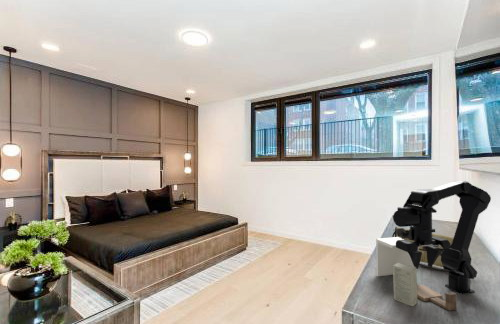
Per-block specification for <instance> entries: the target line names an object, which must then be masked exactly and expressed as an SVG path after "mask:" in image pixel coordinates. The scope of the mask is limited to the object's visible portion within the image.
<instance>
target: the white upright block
mask: <svg viewBox="0 0 500 324" xmlns="http://www.w3.org/2000/svg"><path fill="white" fill-rule="evenodd" d="M397 240H404V239H402V238H399V237H395V236H394V237H392V236H391V237H380V238H375V244H376V247H375V248H376V250H375V251H376V255H375V256H376V276H377V277H382V276H383V277H385V276H393V265H394V264H396V263H397V262H398V263H402V264H406V265H409V266H413V267H414V265H413V262H412V260H411V257H410V255H409V253H408V252H406V251H403V250H401V249H399V248H396V241H397Z"/></svg>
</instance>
